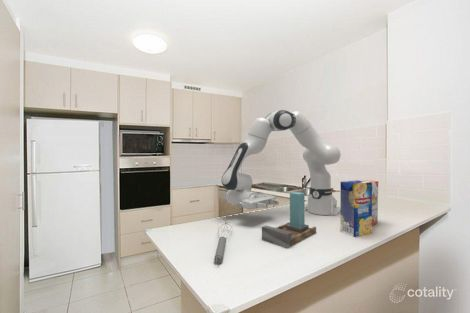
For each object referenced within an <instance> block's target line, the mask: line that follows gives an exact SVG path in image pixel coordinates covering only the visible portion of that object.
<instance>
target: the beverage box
mask: <svg viewBox="0 0 470 313" xmlns="http://www.w3.org/2000/svg"><path fill="white" fill-rule="evenodd" d="M340 208H341V211H340V233H342V234H343V233H344V234H345V235H348V236H351V237H354V238H357V237H360V236H364V235H371V234H372V233H373V225H372V182H367V181H365V180H358V179H356V180H346V181H340Z"/></svg>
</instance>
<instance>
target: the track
mask: <svg viewBox="0 0 470 313" xmlns="http://www.w3.org/2000/svg"><path fill="white" fill-rule="evenodd" d="M288 224H290V221H289V222H285V223H284V224H280V225H279V226H277V227H274V226H270V225H264V226H262V227H261V240H262V241H265V242H269V243H272V244H275V245H277V246H279V247H282V248H285V249H289V248H291V247H293V246H295V245H296V244H298V243H300V242H302V241H304V240H306V239H308V238H310V237H312V236H313V235H315V234H317V226H312V227H309V229H307V230H305V231H303V232H301V233H300V232H296V231H293V230H289V229H286V225H288Z"/></svg>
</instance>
